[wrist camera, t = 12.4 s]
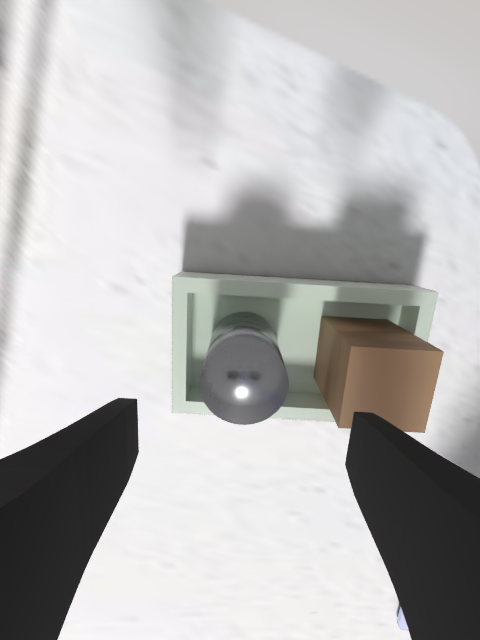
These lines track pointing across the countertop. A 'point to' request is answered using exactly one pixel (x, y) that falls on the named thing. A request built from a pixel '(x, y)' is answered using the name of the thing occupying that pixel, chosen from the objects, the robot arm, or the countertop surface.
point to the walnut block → (376, 371)
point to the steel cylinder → (243, 370)
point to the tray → (281, 326)
